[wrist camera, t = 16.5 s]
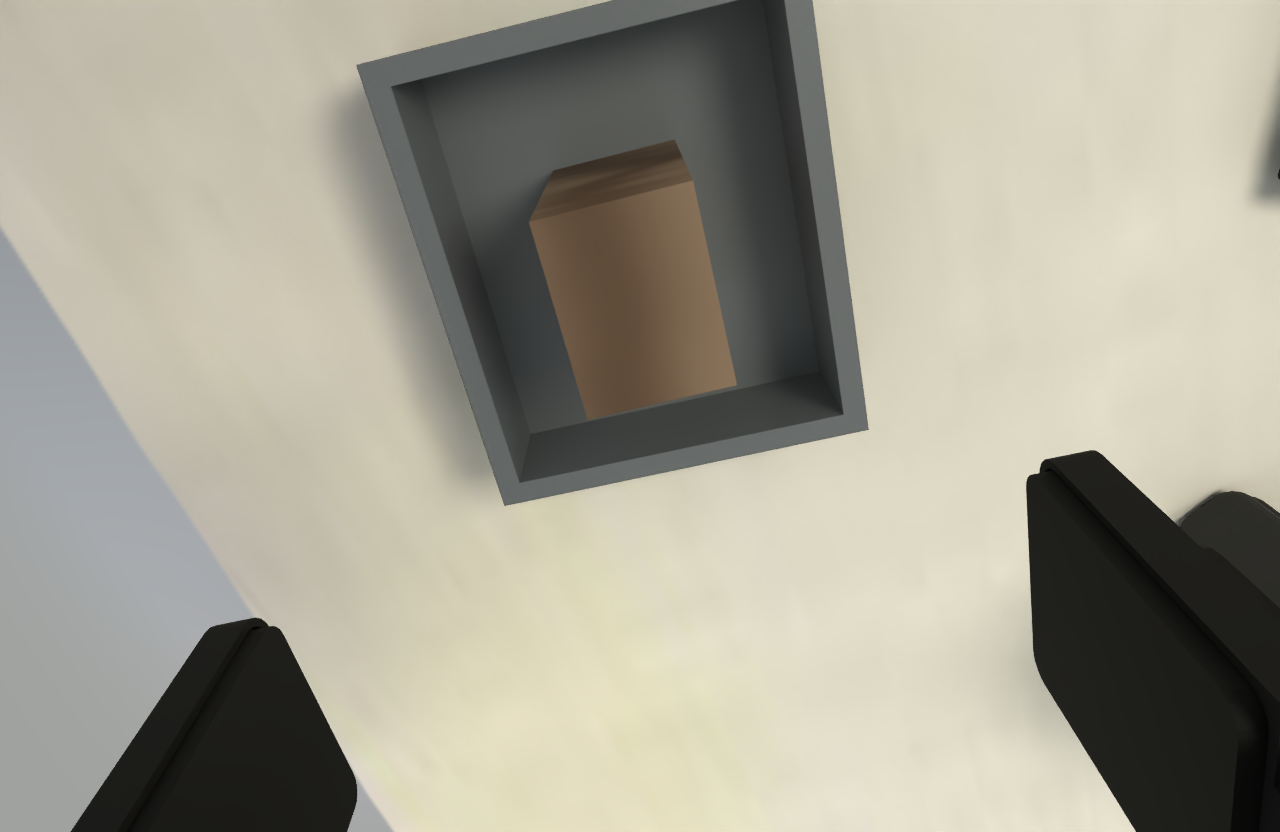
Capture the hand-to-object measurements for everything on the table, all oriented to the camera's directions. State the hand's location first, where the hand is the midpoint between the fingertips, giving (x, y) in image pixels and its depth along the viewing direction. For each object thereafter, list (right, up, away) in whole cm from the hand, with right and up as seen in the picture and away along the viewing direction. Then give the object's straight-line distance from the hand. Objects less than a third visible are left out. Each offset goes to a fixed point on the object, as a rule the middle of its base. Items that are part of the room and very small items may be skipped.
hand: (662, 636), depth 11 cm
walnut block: (0, +9, +22) cm, 24 cm away
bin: (0, +10, +22) cm, 25 cm away
